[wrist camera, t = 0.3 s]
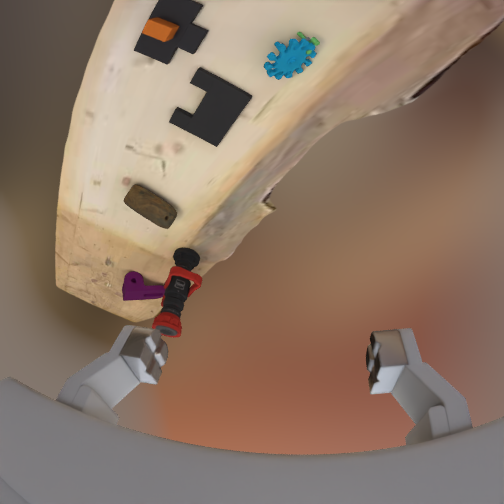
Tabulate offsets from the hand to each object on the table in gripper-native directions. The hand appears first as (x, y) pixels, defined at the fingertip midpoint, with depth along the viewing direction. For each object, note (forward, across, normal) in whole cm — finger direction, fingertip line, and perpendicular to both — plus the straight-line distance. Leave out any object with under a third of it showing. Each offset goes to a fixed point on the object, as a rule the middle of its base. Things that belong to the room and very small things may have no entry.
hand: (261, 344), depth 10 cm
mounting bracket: (+73, +61, +55) cm, 110 cm away
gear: (+49, -2, -16) cm, 51 cm away
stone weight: (+59, +38, +15) cm, 72 cm away
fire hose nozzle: (+68, +38, +41) cm, 88 cm away
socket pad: (+52, +16, -7) cm, 54 cm away
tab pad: (+46, +18, -24) cm, 55 cm away
